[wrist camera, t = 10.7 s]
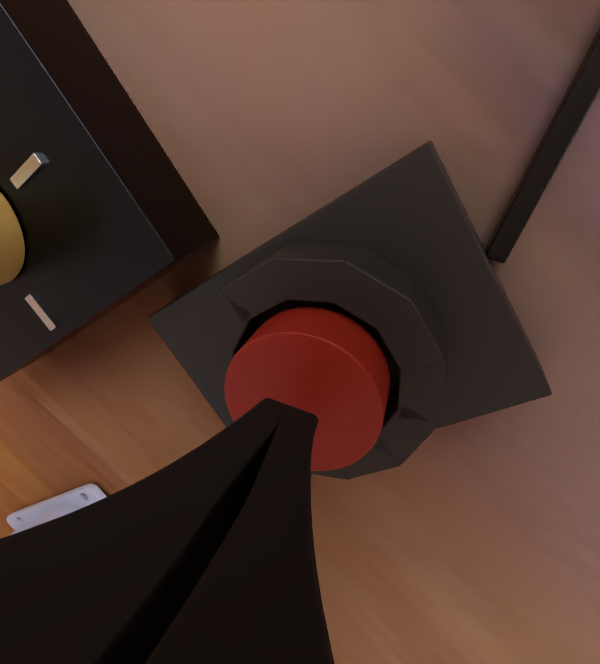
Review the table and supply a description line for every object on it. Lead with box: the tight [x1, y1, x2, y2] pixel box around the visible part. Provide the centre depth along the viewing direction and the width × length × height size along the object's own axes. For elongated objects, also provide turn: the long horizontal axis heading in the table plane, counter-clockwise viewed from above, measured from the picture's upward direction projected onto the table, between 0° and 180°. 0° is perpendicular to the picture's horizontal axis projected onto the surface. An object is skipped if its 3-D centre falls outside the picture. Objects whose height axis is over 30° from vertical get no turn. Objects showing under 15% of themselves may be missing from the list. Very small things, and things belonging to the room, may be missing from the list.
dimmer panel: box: [0, 0, 219, 381], centre depth 16 cm, size 12×9×3 cm
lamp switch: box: [224, 307, 390, 471], centre depth 12 cm, size 4×4×2 cm
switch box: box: [148, 141, 552, 480], centre depth 14 cm, size 11×8×4 cm
